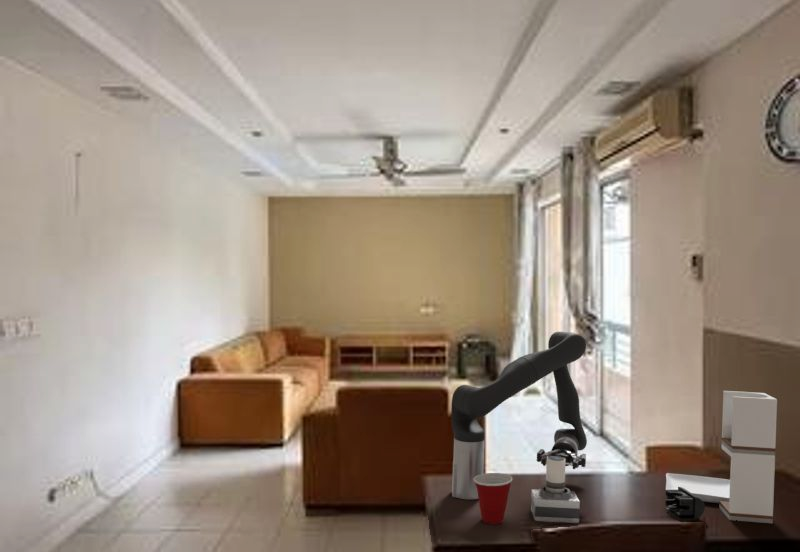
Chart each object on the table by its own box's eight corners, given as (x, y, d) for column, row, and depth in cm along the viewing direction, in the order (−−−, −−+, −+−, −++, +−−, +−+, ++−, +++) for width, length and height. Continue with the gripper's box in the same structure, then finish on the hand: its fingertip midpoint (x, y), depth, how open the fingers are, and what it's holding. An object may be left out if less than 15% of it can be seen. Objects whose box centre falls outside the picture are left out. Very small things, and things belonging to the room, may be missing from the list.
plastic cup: (470, 512, 204) (471, 470, 204) (508, 514, 203) (510, 472, 203) (473, 526, 193) (474, 482, 193) (513, 528, 193) (515, 483, 192)
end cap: (704, 521, 203) (705, 497, 203) (680, 521, 202) (681, 497, 202) (687, 509, 213) (688, 486, 213) (664, 509, 212) (665, 486, 212)
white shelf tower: (759, 510, 213) (764, 393, 213) (772, 523, 203) (777, 399, 202) (719, 507, 215) (723, 390, 214) (729, 519, 204) (734, 397, 204)
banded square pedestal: (534, 520, 199) (535, 493, 199) (530, 509, 208) (531, 483, 208) (579, 523, 198) (580, 496, 198) (573, 511, 207) (574, 486, 207)
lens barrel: (546, 496, 201) (547, 460, 200) (544, 490, 206) (545, 455, 206) (566, 497, 200) (567, 461, 200) (562, 491, 206) (564, 456, 205)
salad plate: (665, 500, 222) (665, 489, 222) (665, 481, 242) (665, 471, 242) (741, 510, 214) (741, 498, 214) (735, 490, 234) (735, 479, 234)
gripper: (542, 436, 227) (534, 448, 212) (588, 441, 223) (584, 454, 207) (541, 460, 227) (533, 473, 212) (588, 465, 223) (583, 479, 207)
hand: (558, 464), depth 210 cm, fingers open, 8 cm apart
